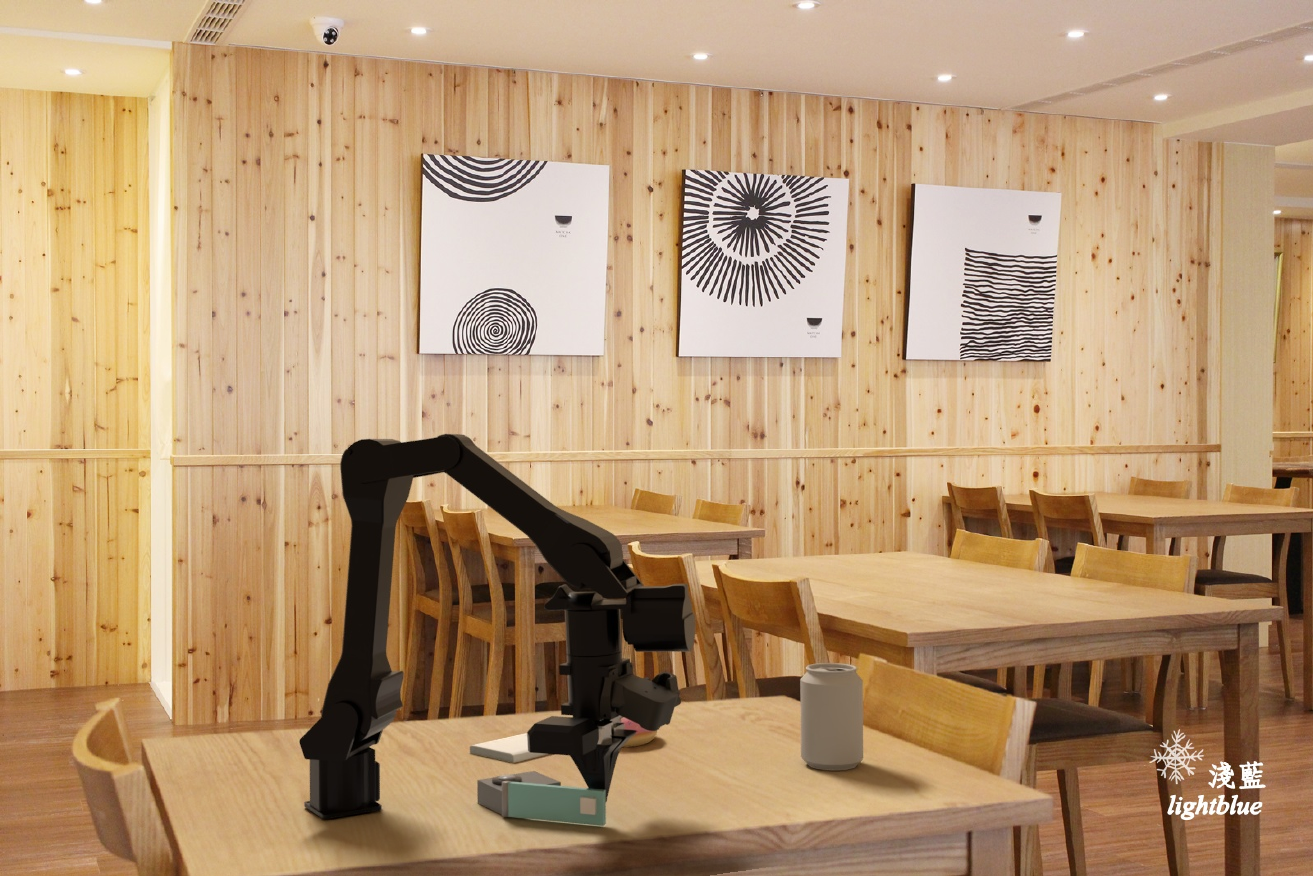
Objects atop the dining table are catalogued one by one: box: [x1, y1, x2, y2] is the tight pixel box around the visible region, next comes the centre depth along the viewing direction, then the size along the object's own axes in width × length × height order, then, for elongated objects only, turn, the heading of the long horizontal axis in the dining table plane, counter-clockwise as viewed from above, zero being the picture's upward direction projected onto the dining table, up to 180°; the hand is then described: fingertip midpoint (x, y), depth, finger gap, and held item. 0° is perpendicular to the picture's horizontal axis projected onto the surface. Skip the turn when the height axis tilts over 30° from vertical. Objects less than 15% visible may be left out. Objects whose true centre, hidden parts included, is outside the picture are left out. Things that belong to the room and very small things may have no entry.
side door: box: [501, 781, 607, 827], centre depth 138 cm, size 12×1×4 cm, turn 70°
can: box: [799, 662, 864, 772], centre depth 162 cm, size 8×8×12 cm
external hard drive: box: [469, 732, 549, 764], centre depth 171 cm, size 2×8×12 cm
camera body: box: [476, 770, 562, 816], centre depth 145 cm, size 7×6×3 cm
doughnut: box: [620, 717, 658, 749], centre depth 176 cm, size 11×11×4 cm
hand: (601, 803), depth 137 cm, fingers closed
